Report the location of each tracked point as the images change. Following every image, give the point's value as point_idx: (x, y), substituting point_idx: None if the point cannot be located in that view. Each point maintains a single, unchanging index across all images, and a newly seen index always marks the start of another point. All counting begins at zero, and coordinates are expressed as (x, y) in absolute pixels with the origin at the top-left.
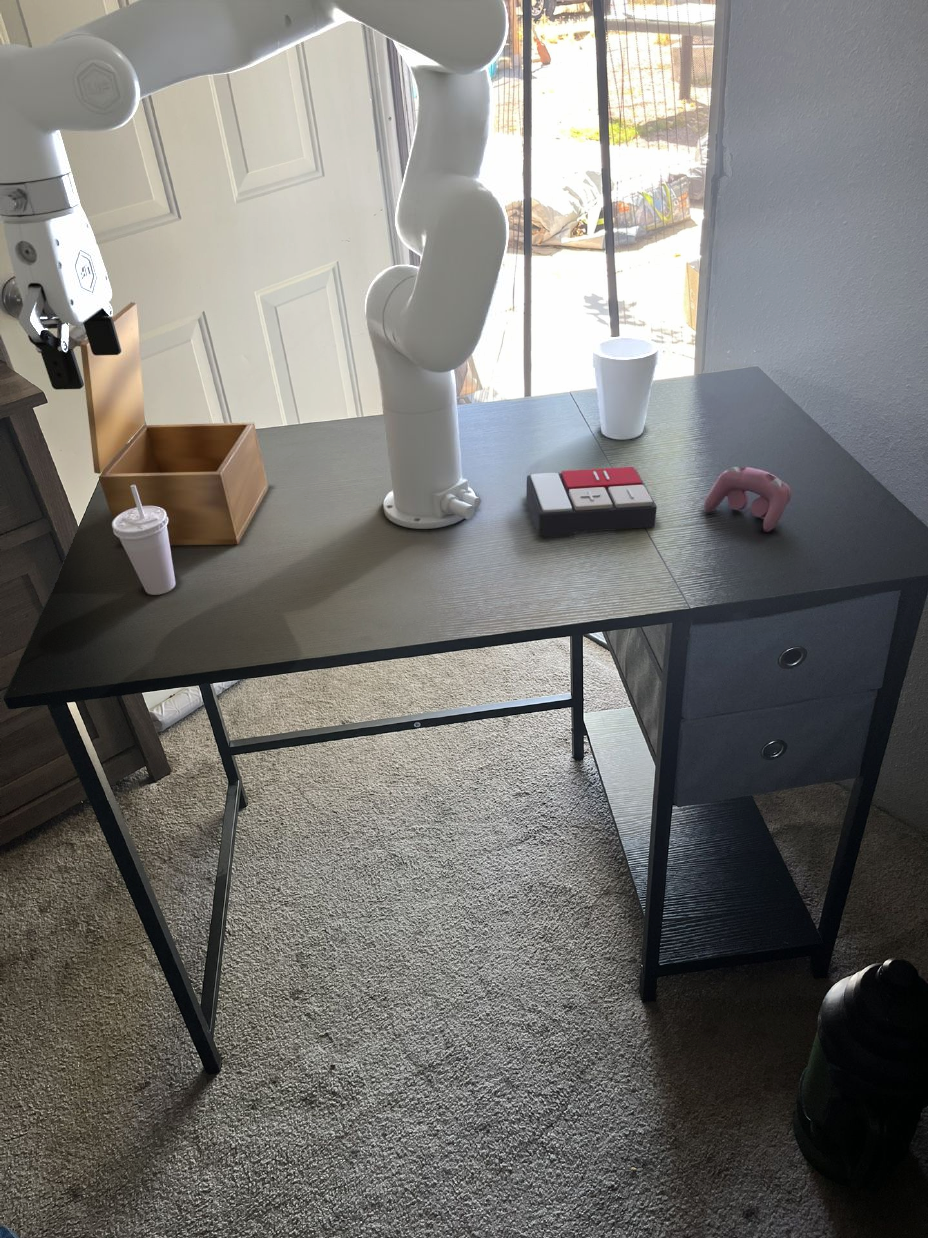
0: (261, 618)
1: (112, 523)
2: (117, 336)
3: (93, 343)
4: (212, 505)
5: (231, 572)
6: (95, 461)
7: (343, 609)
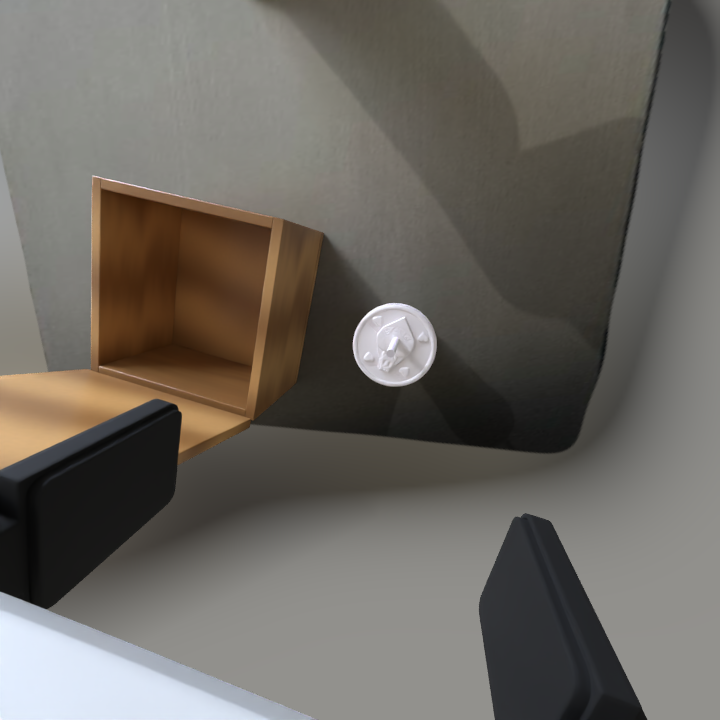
0: (520, 183)
1: (398, 385)
2: (106, 422)
3: (140, 513)
4: (300, 252)
5: (392, 236)
6: (241, 428)
7: (539, 52)
